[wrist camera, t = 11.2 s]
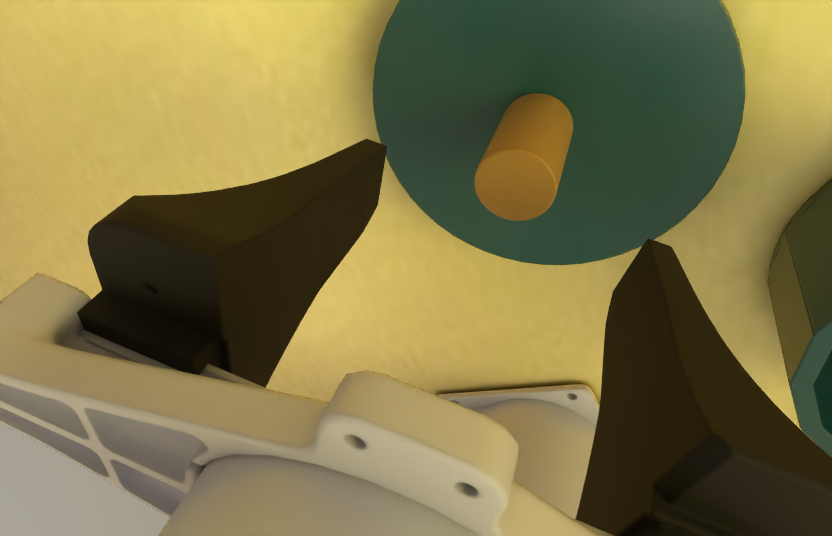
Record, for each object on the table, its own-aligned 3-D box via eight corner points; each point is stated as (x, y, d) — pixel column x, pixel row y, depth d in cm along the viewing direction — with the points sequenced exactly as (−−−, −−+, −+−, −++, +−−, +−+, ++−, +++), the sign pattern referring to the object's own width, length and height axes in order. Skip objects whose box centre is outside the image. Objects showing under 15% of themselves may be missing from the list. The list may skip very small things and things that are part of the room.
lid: (498, 284, 25) (470, 366, 21) (322, 63, 21) (250, 120, 17) (803, 171, 17) (840, 269, 14) (624, -211, 13) (609, -213, 10)
